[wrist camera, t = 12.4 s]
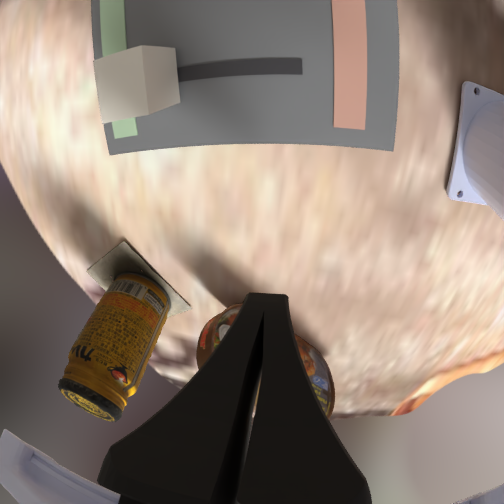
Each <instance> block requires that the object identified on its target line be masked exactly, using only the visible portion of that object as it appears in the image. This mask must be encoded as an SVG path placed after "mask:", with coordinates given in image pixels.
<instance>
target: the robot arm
mask: <svg viewBox="0 0 504 504" xmlns="http://www.w3.org/2000/svg"><path fill="white" fill-rule="evenodd" d="M475 88H476V90H477V93H476V94H475V93H474V89H475ZM459 191H461V192H460V194H459V195H457V193H458V192H459ZM446 193H447V196H448V197H449V198H450V199H452V200H457V201H464V202H471V203H477V204H483V205H489V206H490V207H491V208H492V209H493V210H494V211H495V212H496V213H497V214H498V216H499V217H500V218H501V219H502V220H503V221H504V95H502V94H500V93H498V92H496V91H493V90H491V89H488V88H486V87H483V86H481V85H478V84H476V83H473V82H470V81H465V82H464V83H463V84H462V94H461V106H460V116H459V124H458V132H457V139H456V145H455V151H454V157H453V162H452V167H451V172H450V177H449V182H448V186H447V190H446ZM261 374H262V375H261ZM260 379H261V381H260ZM259 383H260V387H259ZM258 387H259V393H258V399H257V405H256V410H255V416H254V421H253V426H252V431H251V437H250V441H249V435H250V427H251V420H252V414H253V409H254V405H255V400H256V396H257V392H258ZM248 442H249V446H248ZM247 450H248V451H247ZM97 481H98V483H99V484H100V485H102V486H103V487H101V486H99V485H97V484H95V483H93V482H91V481H89V480H87V479H85V478H83V477H81V476H79V475H77V474H75V473H73V472H72V471H70V470H68V469H66V468H64V467H63V466H61V465H60V464H58V463H56V462H55V460H54V459H52V458H51V457H49V456H47V455H46V454H44V453H43V452H41V451H40V450H38V449H36V448H35V447H33V446H31V445H29V444H27V443H25V442H24V441H22V440H21V439H19V438H18V437H17V436H15V435H14V434H12V433H11V432H9V431H8V430H6V429H4V431H3V433H2V435H1V438H0V483H1V484H2V485H3V487H4V488H5V489H7V491H8V492H9V493H10V494H11V495H12V496H13V497H14V498H15V499H16V500H17V501H18V502H19V504H372V500H371V494H370V490H369V487H368V483H367V481H366V478H365V477H364V475H363V474H362V473H361V471H360V470H359V469H358V467H357V465H356V464H355V463H354V461H353V460H352V458H351V457H350V455H349V454H348V452H347V450H346V449H345V447H344V446H343V444H342V442H341V441H340V439H339V438H338V436H337V434H336V432H335V430H334V429H333V427H332V425H331V423H330V421H329V419H328V418H327V416H326V414H325V412H324V410H323V408H322V406H321V404H320V402H319V400H318V397H317V395H316V393H315V391H314V388H313V386H312V384H311V381H310V379H309V376H308V374H307V371H306V369H305V366H304V363H303V360H302V358H301V355H300V352H299V348H298V345H297V342H296V338H295V335H294V331H293V327H292V322H291V318H290V312H289V303H288V296H287V295H285V294H266V293H249V294H247V295H246V298H245V300H244V302H243V304H242V306H241V308H240V310H239V312H238V314H237V316H236V317H235V319H234V321H233V323H232V324H231V326H230V327H229V329H228V331H227V332H226V334H225V335H224V337H223V338H222V340H221V341H220V343H219V344H218V346H217V347H216V348H215V350H214V351H213V352H212V354H211V355H210V357H209V358H208V359H207V361H206V362H205V363H204V364H203V366H202V367H201V368H200V369H199V371H198V372H197V373H196V374H195V375H194V376H193V377H192V379H191V380H190V381H189V382H188V383H187V384H186V385H185V386H184V387H183V388H182V389H181V390H180V391H179V392H178V394H177V395H175V396H174V397H173V398H172V399H171V400H170V401H169V402H168V403H167V404H166V405H165V406H164V407H163V408H162V409H160V410H159V411H158V412H157V413H156V414H154V415H153V416H152V417H151V418H150V419H148V420H147V421H146V422H145V423H143V424H142V425H141V426H140V427H138V428H137V429H135V430H134V431H133V432H131V433H130V434H128V435H127V436H125V437H124V438H122V439H121V440H119V441H118V442H116V443H115V444H113V445H112V446H111V447H110V449H109V451H108V453H107V455H106V456H105V459H104V461H103V464H102V467H101V470H100V473H99V476H98V479H97ZM104 487H105V488H104ZM106 488H107V489H106ZM108 489H109V490H108ZM110 490H112V491H110ZM113 491H114V492H113ZM115 492H116V493H115ZM117 493H118V494H117ZM120 494H121V495H120ZM452 504H504V484H502V485H499V486H497V487H495V488H493V489H490V490H488V491H485V492H483V493H478V494H476V495H473V496H470V497H467V498H465V499H463V500H460V501H457V502H454V503H452Z"/></svg>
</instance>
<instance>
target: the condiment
mask: <svg viewBox="0 0 504 504" xmlns="http://www.w3.org/2000/svg"><path fill="white" fill-rule="evenodd" d="M141 270H142V271H143V272H142V271H141ZM87 273H88V274H89V275H90V276H91V277H92V278H93V279H94V280H95V281H96V282H97V283H98V284H99V285H100V286H101V287H102V288H103V289H104V290H105V291H106V292H105V294H104V295H103V297H102V298H101V300H100V302H99V303H98V304H97V306H96V308H95V310H94V311H93V313H92V315H91V316H90V318H89V319H88V321H87V323H86V325H85V326H84V328H83V329H82V331H81V333H80V334H79V336H78V338H77V340H76V341H75V343H74V345H73V346H72V349H71V350H70V352H69V357H68V358H69V363H68V365H67V366H66V368H65V371H64V376H63V378H62V379H60V381H59V384H58V387H59V389H60V391H61V393H63V395H64V396H65V397H67V399H69V400H70V401H71V402H73V403H74V404H75V405H77V406H78V407H80V408H82V409H84V410H85V411H87V412H89V413H91V414H93V415H95V416H97V417H99V418H102V419H105V420H107V421H115V422H116V421H118V420H119V419H120V418H121V416H122V412H123V409H124V406H126V404H127V398H128V397H129V396H131V395H133V394H134V393H135V392H136V391H137V388H138V386H139V384H140V380H141V378H142V377H143V374H144V372H145V369H146V365H147V363H148V360H149V358H150V357H151V354H152V351H153V349H154V347H155V345H156V343H157V340H158V337H159V335H160V334H161V330H162V327H163V325H164V324H165V321H166V319H167V318H168V317H171V316H173V315H176V314H180V313H183V312H185V311H188V310H190V309H192V308H191V307H190V306H189V305H188V304H187V303H186V302H185V301H184V300H183V299H182V298H181V297H180V296H179V295H178V294H177V293H175V291H174V290H173V289H172V288H171V287H170V286H169V285H168V284H166V282H165V281H164V280H163V279H162V278H160V277H159V276H158V274H156V273H155V272H153V271H152V270H151V268H150V267H149V266H148V265H147V264H146V263H145V262H144V260H143V259H142V258H141V257H140V256H139V255H138V254H136V253H135V252H134V251H133V250H132V249H131V248H130V247H129V246H128V244H127V243H126V242H125V241H123V242H122V243H121V244H119V245H118V246H117V247H115V248H114V249H113V250H112V251H110V252H109V253H108V254H106V255H105V256H104V257H103V258H101V259H100V260H99V261H98V262H97V263H96V264H94V265H93V266H92V267H91V268H90V269H89V270H88V271H87ZM110 276H112V278H111V277H110ZM112 280H113V282H112Z"/></svg>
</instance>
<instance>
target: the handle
mask: <svg viewBox="0 0 504 504" xmlns="http://www.w3.org/2000/svg"><path fill="white" fill-rule="evenodd" d="M93 62H94V71H95V80H96V87H97V95H98V101H99V108H100V114H101V119H102V124H105V123H109V122H114V121H118V120H123V119H128V118H133V117H139V116H144V115H150V114H152V113H155V112H157V111H160V110H162V109H165V108H167V107H170V106H173V105H175V104H178V103H180V94H179V84H178V74H177V63H176V51H175V48H171V47H160V46H146V45H141V46H137V47H133V48H130V49H127V50H123V51H120V52H117V53H114V54H111V55H108V56H105V57H102V58H100V59H97V60H94V61H93Z"/></svg>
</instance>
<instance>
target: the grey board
mask: <svg viewBox="0 0 504 504" xmlns="http://www.w3.org/2000/svg"><path fill="white" fill-rule="evenodd" d="M91 13H92V35H93V49H94V60H97V59H100V58H102V57H105V56H108V55H111V54H114V53H117V52H120V51H123V50H127V49H130V48H133V47H137V46H141V45H146V46H160V47H171V48H175V51H176V63H177V74H178V84H179V94H180V103H178V104H175V105H173V106H170V107H167V108H165V109H162V110H160V111H157V112H155V113H152V114H150V115H144V116H139V117H133V118H128V119H123V120H118V121H114V122H109V123H105V124H104V130H105V135H106V140H107V145H108V150H109V154H110V155H116V154H122V153H130V152H137V151H146V150H154V149H164V148H175V147H187V146H202V145H221V144H310V145H329V146H344V147H356V148H367V149H376V150H385V151H393V150H394V141H395V132H396V121H397V108H398V91H399V25H398V9H397V0H91Z"/></svg>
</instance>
